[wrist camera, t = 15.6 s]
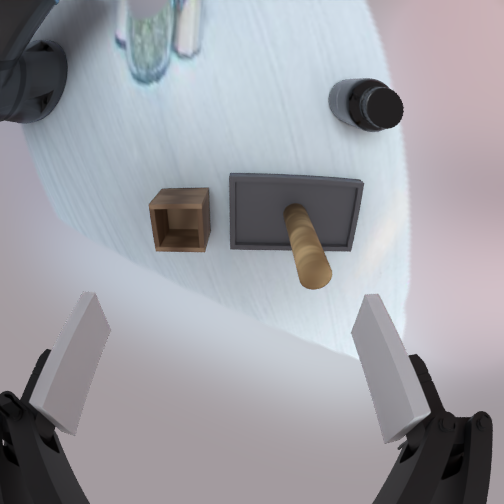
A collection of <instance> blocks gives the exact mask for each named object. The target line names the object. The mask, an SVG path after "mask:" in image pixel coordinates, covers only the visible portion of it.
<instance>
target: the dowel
mask: <svg viewBox="0 0 504 504" xmlns="http://www.w3.org/2000/svg"><path fill="white" fill-rule="evenodd" d="M283 217H284V220H285V224H286V228H287V232H288V236H289V240H290V244H291V248H292V252H293V256H294V260H295V264H296V268H297V272H298V276H299V280H300V283H301V284H302V286H304V287H305V288H307V289H319V288H322V287H324V286H325V285H327V284H328V283H329V281H330V280H331V277H332V270H331V268H330V265H329V263H328V260H327V258H326V256H325V253H324V251H323V248H322V246H321V244H320V241H319V239H318V237H317V234H316V232H315V230H314V227H313V225H312V223H311V221H310V218H309V216H308V214H307V212H306V209H305V208H304V207H303V206H302V205H301V204H298V203H293V204H290V205H288V206H287V207H286V208H285V210H284V212H283Z"/></svg>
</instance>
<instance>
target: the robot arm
mask: <svg viewBox="0 0 504 504" xmlns="http://www.w3.org/2000/svg"><path fill="white" fill-rule="evenodd" d="M58 2H59V0H0V121H4V120H5V121H11V122H17V123H31V122H34V121H38V120H40V119H42V118H44V117H45V116H46V115H48V114H49V113H50V112H51V111H52V110H53V108H54V107H55V106H56V104H57V102H58V101H59V99H60V97H61V95H62V92H63V89H64V86H65V82H66V77H67V61H66V57H65V54H64V51H63V50H62V48H61V47H60V46H59V45H58V44H57V43H55V42H53V41H46V40H38V41H33V42H31V43H29V42H30V40H31V38H32V37H33V35H34V34H35V32H36V31H37V29H38V28H39V26H40V25H41V23H42V22H43V20H44V19H45V17H46V16H47V15H48V13H49V12H50V11H51V9H52V8H53V7H54V5H57V4H58ZM110 331H111V329H110V326H109V324H108V322H107V320H106V318H105V315H104V313H103V310H102V308H101V306H100V303H99V301H98V298H97V296H96V293H95V292H83V293H82V294H81V296H80V298H79V300H78V301H77V303H76V305H75V307H74V308H73V310H72V312H71V314H70V315H69V317H68V319H67V321H66V323H65V325H64V327H63V329H62V331H61V332H60V334H59V336H58V338H57V340H56V342H55V344H54V347H53V348H52V350H49V349H46V350H45V351H44V352H43V354H41V356H40V357H39V359H38V361H37V363H36V367H35V368H34V370H33V372H32V374H31V377H30V379H29V381H28V383H27V385H26V388H25V390H24V393H23V395H22V397H21V399H20V400H19V399H18V398H17V397H16V396H15V395H14V394H13V393H12V392H10V391H5V392H2V393H1V394H0V504H90V503H89V501H88V500H87V498H86V496H85V495H84V492H83V491H82V489H81V487H80V485H79V483H78V481H77V479H76V477H75V475H74V473H73V471H72V469H71V467H70V464H69V462H68V460H67V458H66V455H65V453H64V451H63V448H62V446H61V444H60V441H59V438H58V436H57V434H56V432H55V431H54V430H55V426H56V427H57V428H58V429H59V430H61V431H62V432H65V433H68V434H70V435H73V436H75V434H76V431H77V427H78V424H79V420H80V417H81V413H82V410H83V406H84V403H85V400H86V397H87V394H88V391H89V388H90V385H91V382H92V379H93V376H94V374H95V371H96V368H97V365H98V362H99V360H100V357H101V354H102V352H103V349H104V346H105V344H106V341H107V339H108V336H109V334H110ZM351 334H352V337H353V340H354V343H355V346H356V349H357V352H358V355H359V358H360V361H361V364H362V367H363V370H364V373H365V377H366V380H367V383H368V386H369V390H370V393H371V396H372V400H373V403H374V407H375V410H376V414H377V418H378V421H379V424H380V428H381V432H382V436H383V440H384V443H385V444H386V443H390V442H394V441H397V440H400V439H401V438H402V437H404V436H405V435H406V437H407V440H406V441H405V442H404V443H402V444H401V445H400V446H399V447H398V450H400V449H401V448H402V447H403V448H402V450H401V452H400V455H399V457H398V459H397V461H396V463H395V465H394V467H393V468H392V470H391V472H390V474H389V476H388V478H387V480H386V482H385V483H384V485H383V487H382V488H381V490H380V492H379V494H378V495H377V497H376V499H375V500H374V502H373V503H372V504H486V502H487V496H488V489H489V481H490V472H491V461H492V435H493V434H492V432H493V427H492V426H493V425H492V420H491V417H490V416H489V415H488V414H487V413H486V412H483V411H479V412H477V413H476V414H474V415H473V416H472V417H455V416H454V415H453V414H451V413H450V412H446V411H445V409H444V407H443V405H442V403H441V400H440V398H439V395H438V393H437V390H436V388H435V385H434V383H433V381H432V379H431V376H430V374H429V373H428V369H427V367H426V365H425V363H424V361H423V360H422V359H421V358H420V357H419V356H418V355H417V354H414V355H409V356H408V355H407V352H406V350H405V347H404V345H403V343H402V341H401V339H400V336H399V334H398V332H397V330H396V328H395V326H394V324H393V322H392V320H391V318H390V316H389V314H388V312H387V310H386V308H385V306H384V304H383V302H382V300H381V298H380V296H379V294H369V295H365V296H364V299H363V302H362V305H361V307H360V310H359V313H358V316H357V318H356V321H355V324H354V326H353V329H352V332H351ZM2 439H3V440H4V445H3V443H2Z"/></svg>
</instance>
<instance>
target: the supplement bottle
mask: <svg viewBox="0 0 504 504" xmlns="http://www.w3.org/2000/svg"><path fill="white" fill-rule="evenodd" d="M329 104H330V108H331V110H332V112H333V113H334V115H335V116H336V117H337V118H338V119H340V120H341V121H343V122H345V123H348V124H350V125H352V126H355V127H357V128H359V129H362V130H364V131H368V132H379V131H382V130H384V129H388V128H392V127H395V126H396V125H397V124H398V123H399V122H400V120H401V119H402V116H403V112H404V111H403V108H404V107H403V103H402V101H401V99H400V97H399V96H398V95H397V93H395V92H394V91H393V90H391V89H390V88H389V87H388V86H387V85H385V84H384V83H382V82H381V81H379V80H376V79H370V78H363V79H346V80H342V81H340V82H338V83H337V84H335V85H334V87H333V88H332V90H331V92H330V95H329Z"/></svg>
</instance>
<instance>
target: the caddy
mask: <svg viewBox="0 0 504 504" xmlns="http://www.w3.org/2000/svg"><path fill="white" fill-rule="evenodd" d="M149 210H150V217H151V224H152V231H153V237H154V243H155V249H156V251H164V252H205V250H206V246H207V243H208V239H209V235H210V231H211V229H210V209H209V188H168V189H161V190H160V192H159V193H158V194H157V195H156V196H155V198H154V199H153V200H152V201H151V202H150V204H149Z"/></svg>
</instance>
